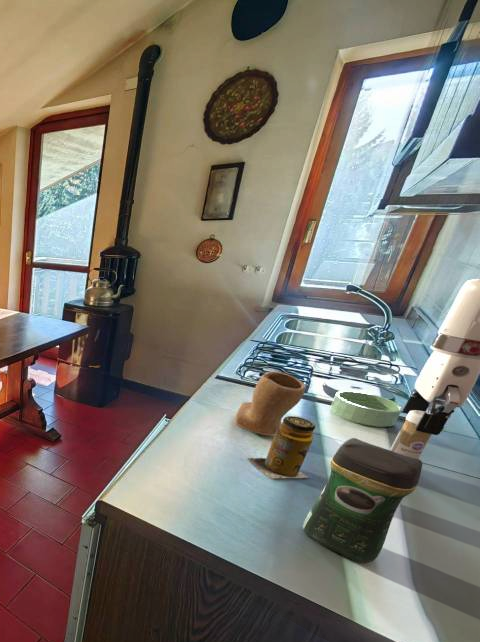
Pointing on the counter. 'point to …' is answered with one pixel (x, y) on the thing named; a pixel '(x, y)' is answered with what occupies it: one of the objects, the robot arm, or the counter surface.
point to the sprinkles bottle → (411, 437)
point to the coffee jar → (361, 499)
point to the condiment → (287, 449)
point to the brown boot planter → (270, 403)
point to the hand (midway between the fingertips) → (418, 423)
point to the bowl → (365, 408)
